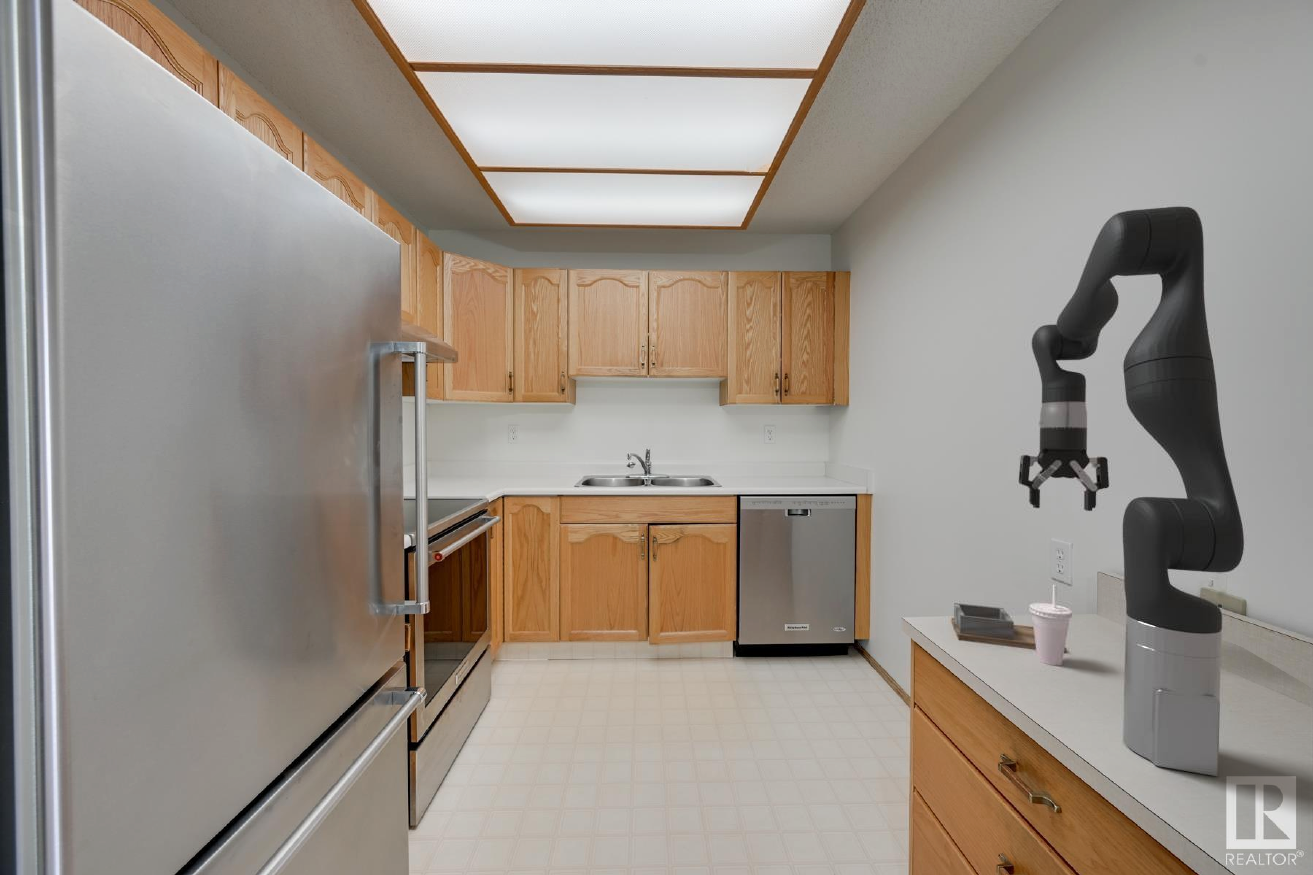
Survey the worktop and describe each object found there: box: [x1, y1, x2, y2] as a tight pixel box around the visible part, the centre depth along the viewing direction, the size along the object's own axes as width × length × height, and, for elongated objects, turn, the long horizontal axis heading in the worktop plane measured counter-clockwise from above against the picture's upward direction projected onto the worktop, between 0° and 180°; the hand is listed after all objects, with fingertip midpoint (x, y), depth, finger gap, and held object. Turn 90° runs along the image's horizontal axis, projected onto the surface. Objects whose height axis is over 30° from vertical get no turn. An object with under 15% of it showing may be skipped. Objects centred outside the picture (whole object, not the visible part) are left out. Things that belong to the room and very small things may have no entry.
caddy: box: [950, 602, 1067, 654], centre depth 116 cm, size 11×18×4 cm, turn 69°
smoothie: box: [1028, 584, 1073, 666], centre depth 104 cm, size 6×6×14 cm
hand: (1061, 509), depth 111 cm, fingers open, 8 cm apart
